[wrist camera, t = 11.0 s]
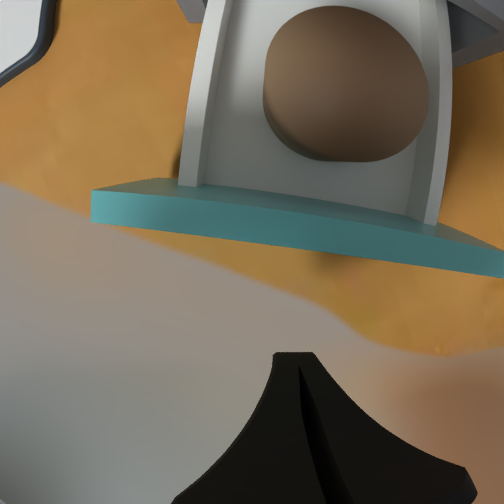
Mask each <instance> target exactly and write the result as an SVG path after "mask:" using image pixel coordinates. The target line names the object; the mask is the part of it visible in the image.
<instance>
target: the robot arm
mask: <svg viewBox="0 0 504 504" xmlns="http://www.w3.org/2000/svg"><path fill="white" fill-rule="evenodd" d="M476 496H477V490H476V488H475V486H474V483H473V482H472V479H471V477H470V475H469V474H468V472H467V470H466V469H465V467H461V466H459V465H456V464H453V463H450V462H447V461H444V460H442V459H439V458H436V457H434V456H432V455H430V454H428V453H425V452H424V451H422V450H419V449H417V448H416V447H414V446H412V445H410V444H408V443H406V442H405V441H403V440H401V439H400V438H398V437H397V436H395V435H394V434H392V433H391V432H389V431H388V430H386V429H385V428H384V427H382V426H381V425H380V424H378V423H377V422H376V421H375V420H373V419H372V418H371V417H369V415H367V414H366V413H365V412H364V411H363V410H362V409H361V408H360V407H359V406H358V405H357V404H356V403H355V402H354V401H353V400H352V399H351V398H350V397H349V396H348V395H347V394H346V393H345V392H344V391H343V390H342V388H341V387H340V386H339V385H338V384H337V383H336V381H335V380H334V379H333V378H332V377H331V375H330V374H329V373H328V372H327V371H326V369H325V368H324V366H323V365H322V364H321V362H320V361H319V360H318V358H317V357H316V355H315V354H314V353H313V352H276V353H275V354H274V355H273V362H272V369H271V373H270V376H269V379H268V382H267V384H266V387H265V389H264V392H263V394H262V396H261V398H260V400H259V402H258V404H257V406H256V408H255V410H254V412H253V414H252V415H251V417H250V419H249V420H248V422H247V423H246V425H245V426H244V428H243V429H242V431H241V432H240V434H239V435H238V436H237V438H236V439H235V440H234V441H233V443H232V444H231V445H230V447H229V448H228V449H227V450H226V452H225V453H224V454H223V455H222V456H221V457H220V458H219V459H218V460H217V461H216V462H215V463H214V464H213V465H212V466H211V467H210V468H209V469H208V470H207V471H206V472H205V473H204V474H203V475H202V476H201V477H200V478H199V479H197V481H195V482H194V483H193V484H191V485H190V486H189V487H188V488H187V489H185V490H184V491H183V492H181V493H180V494H179V495H177V496H176V497H175V498H174V500H173V502H172V503H171V504H471V503H472V502H473V501H474V500H475V498H476ZM0 504H6V503H5V502H3V501H2V500H0Z"/></svg>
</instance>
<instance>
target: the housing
mask: <svg viewBox="0 0 504 504" xmlns="http://www.w3.org/2000/svg"><path fill="white" fill-rule="evenodd" d="M176 1H177V2H178V4H179V6H180V8H181V9H182V11H183V13H184V15H185V17H186V19H187V20H188V22H189V23H203V20H204V16H205V11H206V7H207V3H208V0H176ZM446 2H447V9H448V16H449V26H450V37H451V52H452V69H455V68H457V67H460V66H462V65H465V64H468V63H470V62H473V61H476V60H478V59H481V58H484V57H487V56H490V55H492V54H495V53H498V52H501V51H504V0H446Z"/></svg>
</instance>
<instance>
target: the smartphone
mask: <svg viewBox="0 0 504 504" xmlns="http://www.w3.org/2000/svg"><path fill="white" fill-rule="evenodd" d="M56 1H57V0H0V87H2V86H3V85H4V84H6V83H7V82H9V81H10V80H11V79H13V78H14V77H16V76H17V75H19V74H20V73H22V72H23V71H25V70H26V69H28V68H29V67H31V66H32V65H34V64H36V63H37V62H38V61H39V60H40V59H42V57H43V56H44V55H45V54H46V52H47V51H48V49H49V47H50V45H51V43H52V39H53V31H54V19H55V9H56Z"/></svg>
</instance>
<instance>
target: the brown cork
mask: <svg viewBox="0 0 504 504" xmlns="http://www.w3.org/2000/svg"><path fill="white" fill-rule="evenodd" d="M262 100H263V109H264V113H265V116H266V119H267V122H268V124H269V125H270V127H271V129H272V131H273V132H274V133H275V135H276V136H277V137H278V138H279V140H280V141H281V142H282V143H283V144H285V145H286V146H287V147H288V148H290V149H291V150H293V151H294V152H296V153H298V154H300V155H302V156H304V157H307V158H310V159H314V160H318V161H332V162H373V161H379V160H383V159H386V158H389V157H391V156H393V155H396V154H397V153H399V152H400V151H402V150H404V149H405V148H406V147H407V146H408V145H409V144H411V143H412V141H413V140H414V139H415V138H416V137H417V135H418V134H419V132H420V130H421V129H422V127H423V124H424V122H425V119H426V115H427V111H428V104H429V90H428V83H427V78H426V75H425V71H424V69H423V66H422V64H421V61H420V60H419V58H418V56H417V54H416V52H415V51H414V49H413V48H412V47H411V45H410V44H409V43H408V41H407V40H406V39H405V38H404V37H403V36H402V35H401V34H400V33H399V32H398V31H397V30H396V29H395V28H393V27H392V26H391V25H389V24H388V23H387V22H385V21H383V20H382V19H380V18H378V17H377V16H375V15H372V14H370V13H368V12H365V11H362V10H359V9H356V8H351V7H346V6H321V7H315V8H312V9H308V10H306V11H303V12H301V13H299V14H297V15H295V16H294V17H292V18H291V19H289V20H288V21H287V22H286V23H285V24H283V25H282V26H281V28H280V29H279V30H278V31H277V33H276V34H275V36H274V37H273V39H272V41H271V43H270V46H269V48H268V51H267V55H266V60H265V71H264V83H263V98H262Z"/></svg>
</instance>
